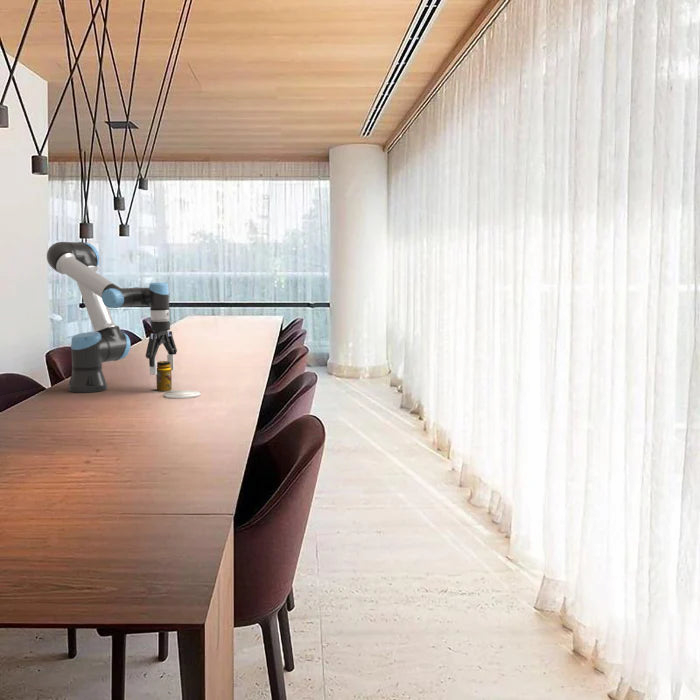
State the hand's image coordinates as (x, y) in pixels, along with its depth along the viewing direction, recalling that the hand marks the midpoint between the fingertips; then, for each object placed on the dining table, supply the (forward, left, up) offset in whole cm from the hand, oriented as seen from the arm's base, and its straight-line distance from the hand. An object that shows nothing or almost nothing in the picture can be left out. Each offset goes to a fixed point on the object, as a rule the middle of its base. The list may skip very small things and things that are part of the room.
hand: (162, 372), depth 321 cm
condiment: (0, 0, -8) cm, 8 cm away
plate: (+14, -8, -8) cm, 17 cm away
